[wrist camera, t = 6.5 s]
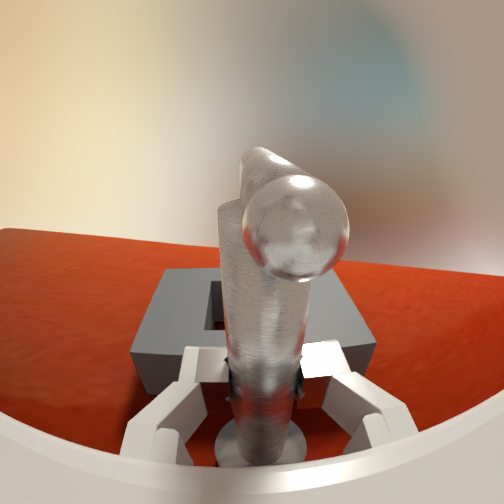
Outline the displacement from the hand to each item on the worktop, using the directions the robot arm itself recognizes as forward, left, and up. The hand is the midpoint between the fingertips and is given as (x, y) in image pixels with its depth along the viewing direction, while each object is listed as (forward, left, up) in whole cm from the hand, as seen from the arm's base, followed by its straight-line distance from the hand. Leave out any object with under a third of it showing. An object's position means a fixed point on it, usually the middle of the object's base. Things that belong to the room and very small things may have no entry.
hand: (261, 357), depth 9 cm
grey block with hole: (0, +9, -8) cm, 11 cm away
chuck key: (0, -1, -8) cm, 8 cm away
